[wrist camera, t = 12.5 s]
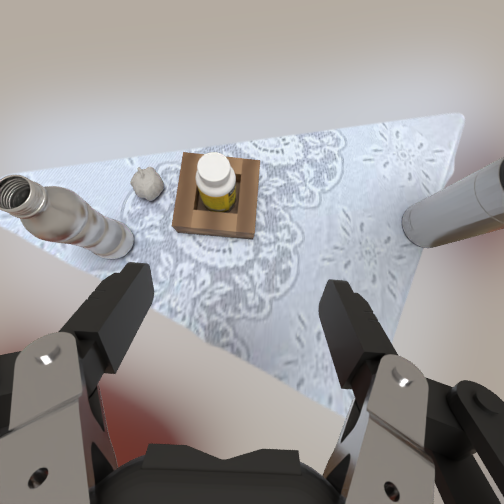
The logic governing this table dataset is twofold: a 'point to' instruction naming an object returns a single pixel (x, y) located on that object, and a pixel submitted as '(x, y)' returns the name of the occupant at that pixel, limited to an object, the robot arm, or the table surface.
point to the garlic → (147, 183)
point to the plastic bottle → (63, 217)
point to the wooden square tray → (217, 223)
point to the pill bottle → (216, 182)
